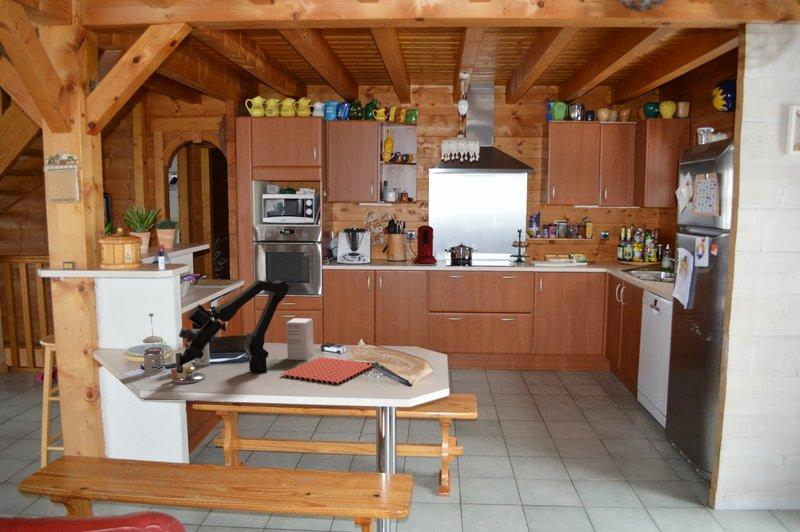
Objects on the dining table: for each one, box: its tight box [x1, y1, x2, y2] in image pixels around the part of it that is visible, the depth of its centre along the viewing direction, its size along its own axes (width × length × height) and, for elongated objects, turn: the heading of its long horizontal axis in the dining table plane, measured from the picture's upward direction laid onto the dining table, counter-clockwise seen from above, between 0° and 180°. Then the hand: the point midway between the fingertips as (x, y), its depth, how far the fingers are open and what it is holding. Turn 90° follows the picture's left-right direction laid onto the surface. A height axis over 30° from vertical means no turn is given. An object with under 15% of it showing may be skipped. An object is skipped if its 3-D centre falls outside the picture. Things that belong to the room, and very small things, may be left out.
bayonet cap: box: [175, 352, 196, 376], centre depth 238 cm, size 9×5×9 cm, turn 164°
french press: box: [142, 312, 168, 377], centre depth 252 cm, size 10×12×25 cm
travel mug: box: [191, 322, 211, 368], centre depth 260 cm, size 6×7×20 cm
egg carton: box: [280, 356, 372, 387], centre depth 247 cm, size 28×28×2 cm
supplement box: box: [285, 317, 315, 361], centre depth 271 cm, size 10×9×17 cm
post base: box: [170, 367, 206, 385], centre depth 241 cm, size 12×12×5 cm
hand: (179, 364), depth 235 cm, fingers closed on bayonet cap, 2 cm apart
